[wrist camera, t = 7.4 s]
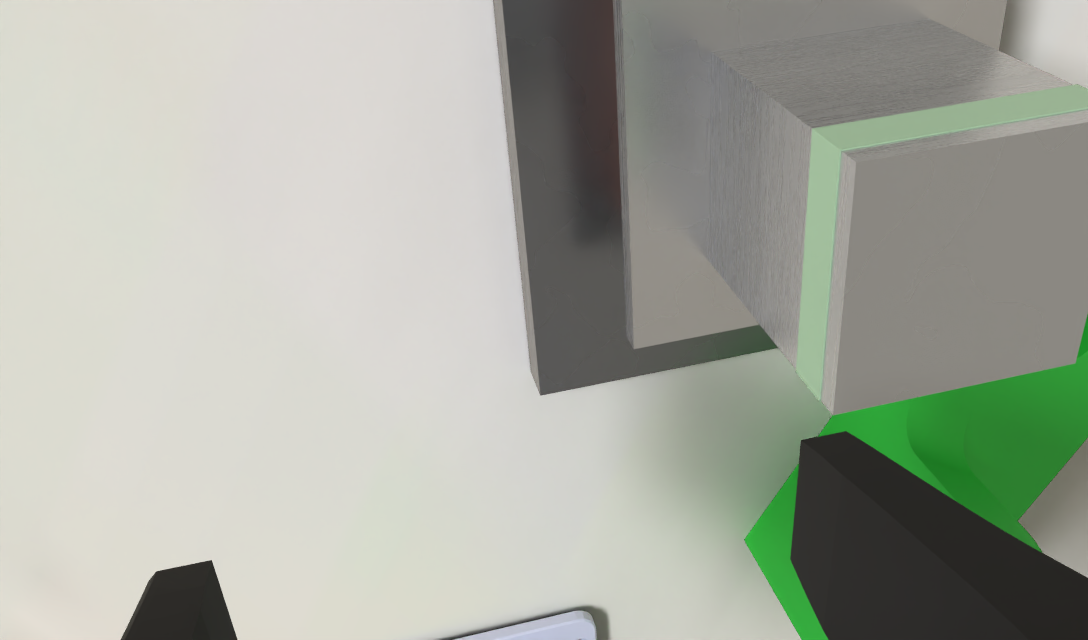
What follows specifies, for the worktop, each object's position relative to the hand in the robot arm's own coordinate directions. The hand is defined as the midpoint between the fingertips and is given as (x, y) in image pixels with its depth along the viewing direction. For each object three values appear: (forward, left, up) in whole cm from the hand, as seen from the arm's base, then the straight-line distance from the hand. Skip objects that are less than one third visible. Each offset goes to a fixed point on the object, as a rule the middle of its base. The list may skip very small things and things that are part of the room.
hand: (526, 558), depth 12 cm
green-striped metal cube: (+2, -7, -7) cm, 10 cm away
